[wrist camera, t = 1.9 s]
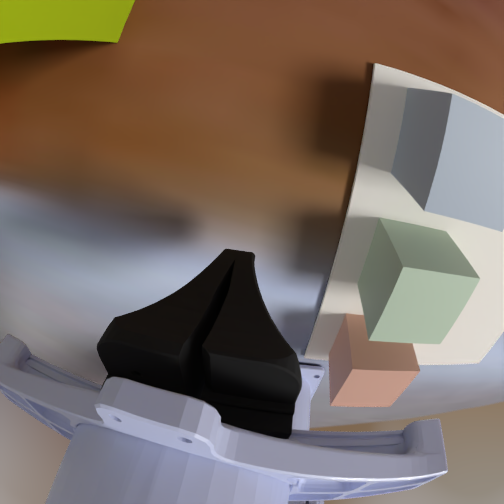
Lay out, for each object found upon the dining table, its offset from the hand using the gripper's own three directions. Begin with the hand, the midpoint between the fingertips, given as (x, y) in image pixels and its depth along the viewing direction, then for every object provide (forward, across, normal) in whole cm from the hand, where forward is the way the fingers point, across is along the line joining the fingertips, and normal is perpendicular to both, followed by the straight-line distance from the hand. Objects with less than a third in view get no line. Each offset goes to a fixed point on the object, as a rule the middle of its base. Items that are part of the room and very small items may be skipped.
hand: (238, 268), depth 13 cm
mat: (+4, -14, 0) cm, 14 cm away
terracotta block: (+3, -9, +7) cm, 12 cm away
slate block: (+3, -9, -7) cm, 12 cm away
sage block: (+3, -9, 0) cm, 10 cm away
